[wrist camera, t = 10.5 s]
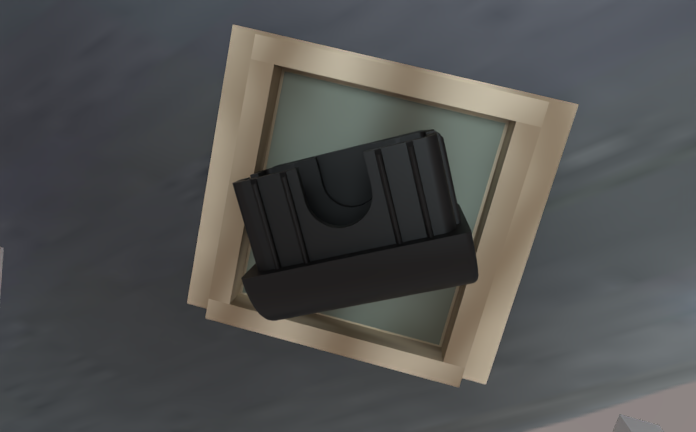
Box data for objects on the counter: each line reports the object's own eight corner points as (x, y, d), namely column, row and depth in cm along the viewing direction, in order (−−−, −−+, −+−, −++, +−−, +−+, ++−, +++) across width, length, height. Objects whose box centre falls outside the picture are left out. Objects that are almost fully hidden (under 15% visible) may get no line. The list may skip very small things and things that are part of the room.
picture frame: (192, 298, 31) (174, 314, 29) (238, 26, 27) (221, 19, 25) (483, 377, 30) (490, 401, 28) (573, 104, 26) (590, 104, 24)
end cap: (293, 290, 29) (258, 344, 23) (258, 169, 28) (212, 190, 21) (469, 255, 27) (486, 302, 21) (441, 124, 26) (451, 132, 20)
